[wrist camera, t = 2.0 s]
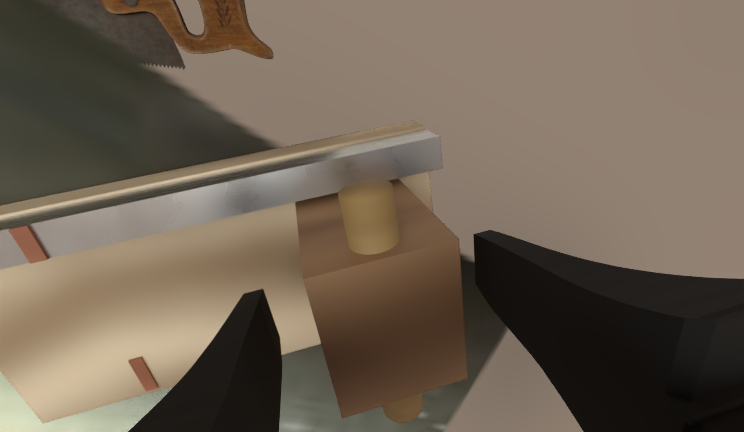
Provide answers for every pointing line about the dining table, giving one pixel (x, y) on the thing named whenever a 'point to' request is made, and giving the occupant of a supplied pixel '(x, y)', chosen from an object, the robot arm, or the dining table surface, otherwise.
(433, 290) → the brown knobbed block
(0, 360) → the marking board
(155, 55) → the hand saw
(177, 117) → the dining table surface
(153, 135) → the dining table surface
